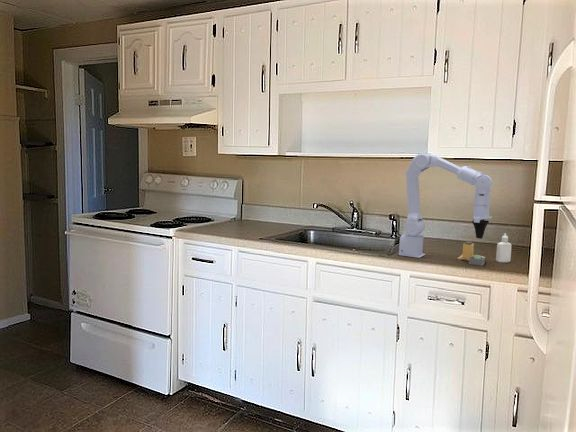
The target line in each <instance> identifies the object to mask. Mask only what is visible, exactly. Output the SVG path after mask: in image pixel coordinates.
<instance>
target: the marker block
mask: <svg viewBox="0 0 576 432" xmlns="http://www.w3.org/2000/svg"><path fill="white" fill-rule="evenodd" d="M474 249H475V243H473V241H465V242H464V243H463V244H462V254H463V255H462V254H461V255H462V257H463V258H470V257H472V256H473V255H474Z"/></svg>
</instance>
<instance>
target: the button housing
mask: <svg viewBox="0 0 576 432" xmlns="http://www.w3.org/2000/svg"><path fill="white" fill-rule="evenodd" d="M484 257H485V256H482V257H481V259H475V258H474V256H472V257H470V258H469V261H468V265H474V266H484V265H485V264H486V259H485V258H484Z"/></svg>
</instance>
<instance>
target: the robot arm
mask: <svg viewBox="0 0 576 432" xmlns="http://www.w3.org/2000/svg"><path fill="white" fill-rule="evenodd" d="M432 167H433V168H434V167H436V168H438V167H439V168H441V169H443V170H445V171H448V172H450V173H454V174H455V175H456V176H457V178H458V179H459V180H461V181H462V182H465V183H467V184H469V185H472V186H475V192H474V201H473V202H474V204H473V214H472V218H473V220H472V221H471V223H472V224H473V227H474V232H475V237H476V239H479V240H480V239H483V237H484V235H485V231H486V228H487V226H488V224H489V222H490V220H488V219H492V218H493V215H492V216H491V215H490V207H491V206H490V205H491V204H490V203H491V186H492V183H493V181H492V178H491V176H489V175H488V174H486V173H485V174H484V173H483V172H482V171H477V170H475V169H473V168H472V166H470V165H468V166H466V165H464V166H458V165H457V164H454V163H452V162H451V161H448V160H446V159H445V158H442V157H440V156H437V155H435V154H434V155H433V154H430V153H418V154H417V155H416V156H414V157H413V158H412V160H411V162H410V164H409V166H408V168H407V169H406V172H405V175H406V176H405V177H406V180H405V181H406V195H407V212H408V213H407V218H406V225H405V226H404V227H405V228H404V229H405V232H406V233H402V234H401V235H400V238H399V243H398V244H399V247H398V249H399V250H398V256H403V257H409V258H410V257H411V258H415V259H417V258H418V259H420V258H422V257H423V256H425V255H426V253H424V252H423V247H424V246H423V245H424V234H423V231H424V230H425V227H426V226H425V222H424V220H423V216H422V212H421V200H420V197H421V196H420V182H419V181H420V180H419V176H420V175H421V174H422V173H424V171H426V170H427V169H429V168H432ZM486 219H487V220H486Z"/></svg>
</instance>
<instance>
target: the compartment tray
mask: <svg viewBox="0 0 576 432" xmlns="http://www.w3.org/2000/svg"><path fill="white" fill-rule="evenodd" d="M462 255H463V253H461V255H459V256H458V257H456V260H458V261H463V262H464V261H466V262H469V258H463V257H462ZM474 255H475V254H473V256H474ZM481 257H484V258H485V260H486V259H487V257H486V256H482V255H481Z"/></svg>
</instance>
